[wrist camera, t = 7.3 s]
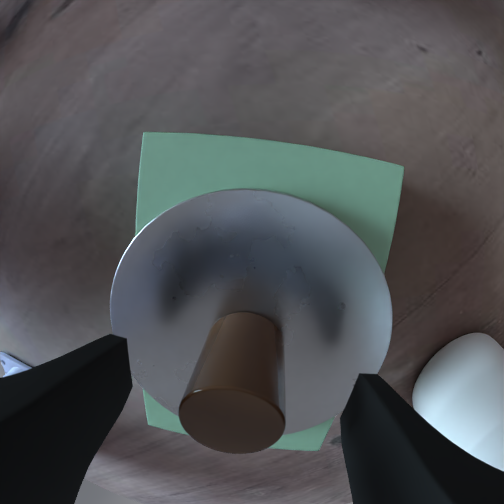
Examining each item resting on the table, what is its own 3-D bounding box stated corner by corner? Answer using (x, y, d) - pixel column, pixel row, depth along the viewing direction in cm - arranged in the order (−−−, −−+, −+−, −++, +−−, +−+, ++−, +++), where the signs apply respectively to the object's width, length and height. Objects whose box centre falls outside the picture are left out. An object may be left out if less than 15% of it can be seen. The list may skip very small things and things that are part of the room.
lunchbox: (320, 411, 16) (325, 451, 13) (159, 387, 17) (141, 423, 13) (383, 168, 12) (414, 168, 9) (165, 139, 13) (133, 131, 9)
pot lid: (342, 432, 12) (355, 508, 8) (130, 400, 13) (91, 466, 8) (416, 215, 9) (499, 248, 5) (119, 174, 10) (28, 184, 5)
